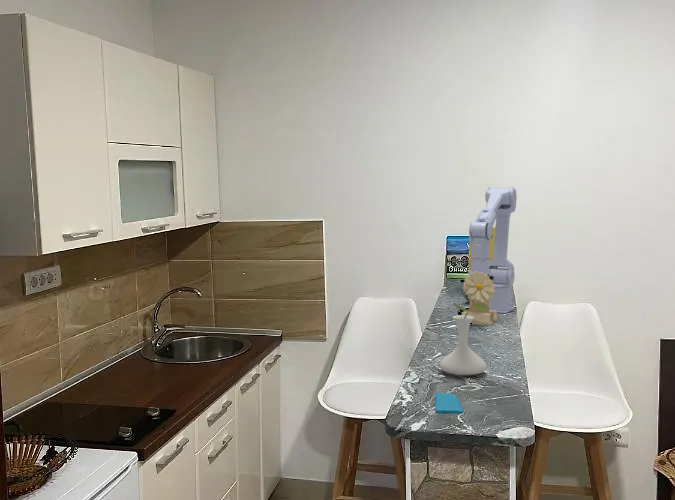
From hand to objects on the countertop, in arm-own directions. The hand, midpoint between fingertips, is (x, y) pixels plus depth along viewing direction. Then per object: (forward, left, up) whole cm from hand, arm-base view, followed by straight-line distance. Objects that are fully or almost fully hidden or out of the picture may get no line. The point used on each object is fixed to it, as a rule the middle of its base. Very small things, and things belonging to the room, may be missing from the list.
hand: (479, 299), depth 233 cm
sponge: (+86, +25, -8) cm, 90 cm away
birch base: (0, 0, -8) cm, 8 cm away
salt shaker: (-32, -15, -8) cm, 36 cm away
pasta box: (-55, -19, -8) cm, 59 cm away
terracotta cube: (0, 0, -4) cm, 4 cm away
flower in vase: (+61, +19, -8) cm, 64 cm away
